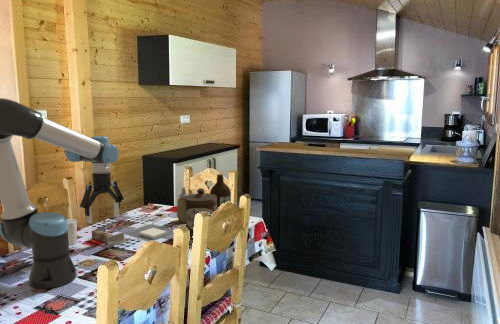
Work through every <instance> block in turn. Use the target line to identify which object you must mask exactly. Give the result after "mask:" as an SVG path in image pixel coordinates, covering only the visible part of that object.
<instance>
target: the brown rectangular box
mask: <svg viewBox="0 0 500 324" xmlns="http://www.w3.org/2000/svg"><path fill="white" fill-rule="evenodd" d="M124 233H125V232H123V231H122V232H119V233H116V234H112V233H109V232H105V231H102V230H99V229H93V230H91V238H92V239H94V240H97V241H100V242H103V243H106V247H107V249H112V248H114V247H115V246H116V245H119V244H122V243H125V236H124V235H125V234H124Z"/></svg>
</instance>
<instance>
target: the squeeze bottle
mask: <svg viewBox="0 0 500 324" xmlns="http://www.w3.org/2000/svg"><path fill="white" fill-rule="evenodd" d="M186 190H187V189H186V187H185V186H184V187H183V186H182V188H181V193H179V195H178V196H179V198H178V199H177V204H176V205H177V207H176V217H177V220H178V222H179V223H180V224H181V223H182V224H186V203H185V197H186V196H189V195H190V194H189V193H187V191H186Z"/></svg>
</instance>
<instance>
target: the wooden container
mask: <svg viewBox="0 0 500 324" xmlns="http://www.w3.org/2000/svg"><path fill="white" fill-rule="evenodd" d="M188 195H189V196H186V197H185V203H186V223H185V225H186V226H185V227H187V228H188V229H189V230H190V237H191V238H190V239H192V236H193V227H194V217H195V214H197V213H199V212H201V211H207V212H209V213H210V215H211V214H212V213H213V212H214V211H216V210H217V196H216V195H214V194H210V193H206V192H205V189H204V188H198V189H197V190H196V193H193V194H188Z"/></svg>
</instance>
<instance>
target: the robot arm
mask: <svg viewBox="0 0 500 324" xmlns="http://www.w3.org/2000/svg"><path fill="white" fill-rule="evenodd" d="M13 136H17V137H22V138H25V139H27V140H32V139H35V140H39V141H41V142H45V143H47V144H49V145H53V146H56V147H58V148H60V149H63V150H64V152H65V157H66V159H67V160H68V161H69V162H72V163H78V162H90V163H91V171H92V172H91V173H92V174H91V175H92V184H86V185H85V192H84V194H83V197H82V199H81V202H80V205H79V207H80V208H82V209H84V215H85V216H86V223H87V224H93V214H92V213H93V212H92V208H91V206H92V205H93V203H94V201H95V200H96V199H97V197H98V196H99V195H100V194H101V195H102V194H108V195H109V196H110V197H111V199H113V200H114V202H113V214H114V215H113V216H114V218H115V217H116V218H120V209H121V203H122V201H123V200H124V199H125V198H124V196H123V194H122V192H121V190H120V188H119V186H118V181H117V180H112V178H111V177H112V176H111V172H110V171H111V164H114V163H115V162H116V161H118V158H119V155H120V152H119V151H120V150H119V149H118V147H117V145H115V144H112V143H111V144H110V139H109V137H108V136H104V135H103V136H99V135H96V136H91V137H90V136H88V135H85V134H84V133H81V132H79V131H76V130H74V129H71V128H69V127H67V126H64V125H62V124H60V123H58V122H55V121H53V120H50V119H48V118H46V117H44V115H43V114H42V113H41V111H38V110H35V109H33V108H31V107H28V106H27V105H24V104H21V103H19V102H18V101H15V100H13V99H8V98H0V203H1V206H2V209H3V211H2V213H0V214H1V215H0V218H1V221H0V236H1V237H2V239H3V240H4V241H6V242H7V243H10V244H11V245H14V246H20V247H25V248H27V249H31V252H32V264H31V269H30V273H29V277H28V281H29V282H28V283H29V286H30V287H32V288H35V289H41V290H42V289H53V288H54V289H55V288H57V287H62V286H64V285H67V284H69V283H71V282H73V281H74V280H75V279H76V278H77V270H76V267H75V264H74V262H73V260H72V258H71V256H70V245H69V242H68V225H67V221H66V219H67V218H66V217H65V215H63V214H62V213H60V212H55V211H51V212H49V211H43V212H39V210H38V207H37V205H36V204H34V203H32V202H31V201H30V200H31V199H29V195H28V192H27V188H26V185H25V182H24V178H23V176H22V173H21V172H22V171H21V170H20V166H19V163H18V160H17V156H16V154H15V150H14V147H13V145H12V141H11V140H12V139H13ZM111 187H112V189H113V190H112V189H111Z"/></svg>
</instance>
